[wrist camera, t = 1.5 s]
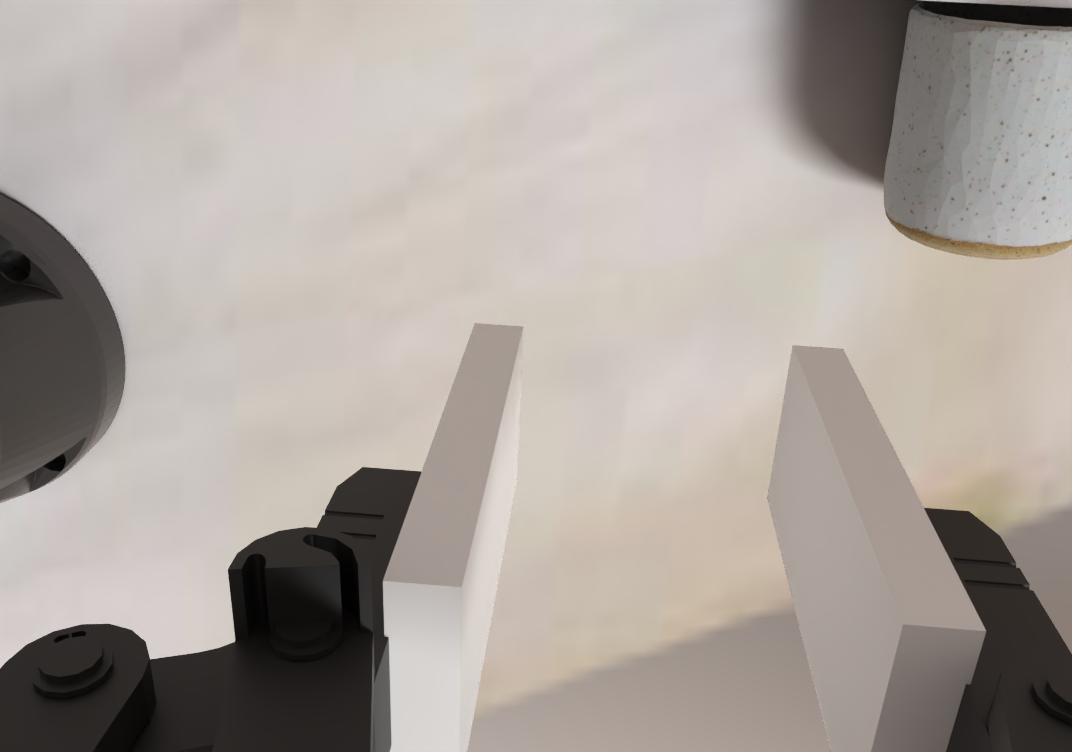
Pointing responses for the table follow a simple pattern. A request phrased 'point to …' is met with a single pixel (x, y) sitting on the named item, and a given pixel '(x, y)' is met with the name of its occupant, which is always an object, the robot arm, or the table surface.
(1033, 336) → the table surface
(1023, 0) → the gray cradle frame
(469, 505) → the robot arm
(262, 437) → the table surface
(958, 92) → the ceramic mug
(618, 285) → the table surface
